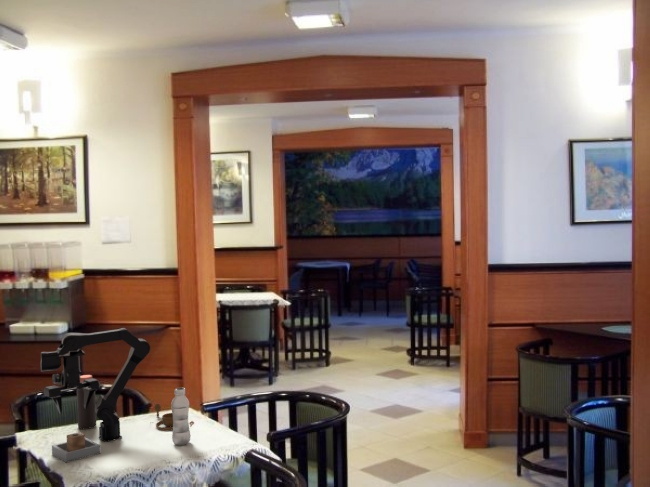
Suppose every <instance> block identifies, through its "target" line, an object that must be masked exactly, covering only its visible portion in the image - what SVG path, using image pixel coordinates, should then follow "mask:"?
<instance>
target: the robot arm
mask: <svg viewBox="0 0 650 487" xmlns="http://www.w3.org/2000/svg"><path fill="white" fill-rule="evenodd" d="M61 338H62V339H61V344H60V345H58V347H57V349H56V350H55V351H41V352H40V372H50V371H58V370H59V369H60V368H61V367H62V371H61V375H60V374H59V373H56V374H52V375H51V379H52V381H51V382H52V384H53V385H50V386H45V387H44V389H43V395H44V396H45V397H47V398H50V399H52V401H53V402H54V404H55V406H56V408H57V411H58V414H60V415H62V414H63V404H62V403H63V401H62V400H63V399H62V395H61V393H65V392H70V391H74V390H77V389H81V388H83V391H84V408H85V409H86V408H87V406H88V404H89V401H90V399H91V397H92V395H93V393H94V391H95V392H96V391H97V390H98V389H99V388H101V383H100V381H99V379H96V378H93V377H92V378H91V379H86V380H84V381H83V383H82V382H80V376H81V375H82V374H83V373H82V371H81V365H80V364H81V363H80V362H81V361H80V359H81V358H80V357H81V356H82V357H83V356H86V353H85V351H84V350H82V348H85V347H88V346H90V345H97V344H102V343H109V342H115V341H116V342H118V341H124V343H126V344H128V346H130V349H129V353H128V356H127V359H126V361H125V362H124V364H123V366H122V367H121V370H120V371H119V373H118V375H117V376H116V377H115V380H114V382H113V383H112V385H111V387H110V389H108V392H107V393H106V394H105V395H102V394H100V395H99V397H98V400H97V401H96V403H95V406H96V407H95V412H96V418H98V419H99V421H101V422H99V425H100V426H99V427H98V428H99V429H98V434H99V435H98V439H99V440H101V441H103V442H106V443H107V442H111V441H115V440H119V439H122V438H123V436H122V435H121V426H120V425H121V422H120V417H119V415H118V413H117V412H116V411H115V410H116V406H117V404H118V399H119V397H120V395H121V394H122V392H123V391H124V389H125V388H126V386H127V384H128V382H129V380H130V379H131V376H132V375H133V373H134V372H135V369H136V368H137V367H138V365H139V364H140V363H141V362H143V361H144V359H145V358H146V357H147V356H148V355H149V353H150V352H151V345H150V343H149V342H147V340H145V338H138V337H136V336H135V335H134V334H133V333H131V332H130V331H129V330H128V329H127V328H125V327H121V328H119V329H112V330H104V331H97V332H90V333H84V332H83V333H82V332H67V333H65V334H64V335H63V336H62V337H61ZM55 384H57V385H58V386H57V385H55Z"/></svg>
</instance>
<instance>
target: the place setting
mask: <svg viewBox="0 0 650 487" xmlns="http://www.w3.org/2000/svg"><path fill="white" fill-rule="evenodd" d="M161 405H162V404H161V403H155V404H154V411H155V412H156V418H157V419H159V418H160V411H161V410H162V409H161V407H162V406H161ZM161 418H162V419H161V420H159V421H157V422H156V423H155V422H150V424H153V423H155V427H156V429H157V430H159V431H167V432H169V431H173V414H172V412H167V413H164V414H162V416H161ZM188 423H189V425H190V426H189V428H190V427H192V426H193V425H194V424H195V422H194V421H193V420H191V421H190V422H188ZM161 425H163V426H161ZM164 426H166V427H164Z"/></svg>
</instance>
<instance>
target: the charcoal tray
mask: <svg viewBox="0 0 650 487" xmlns="http://www.w3.org/2000/svg"><path fill="white" fill-rule="evenodd" d="M51 454H52V455H53V456H55V457H56V458H58V459H60V460H62V462H65V463H66V464H67V463H70V462H74V461H77V460H81V459H86V458H89V457H92V456H96V455H100V454H101V445H100V444H99V443H97V442H95V441H94V440H91V439H90V438H87V437H86V436H85V448H83V449H79V450H75V451H71V452H67V441H64V442H60V443H56V444H52V445H51Z"/></svg>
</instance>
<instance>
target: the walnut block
mask: <svg viewBox="0 0 650 487" xmlns="http://www.w3.org/2000/svg"><path fill="white" fill-rule="evenodd" d="M85 437H86V436H85V434H83V433H81V431H77V432H74V433H68V434H67V435H66V442H67V452H71V451H75V450H79V449H83V448H85Z"/></svg>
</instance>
